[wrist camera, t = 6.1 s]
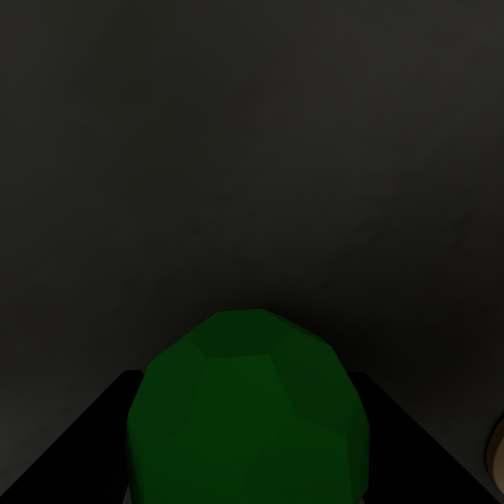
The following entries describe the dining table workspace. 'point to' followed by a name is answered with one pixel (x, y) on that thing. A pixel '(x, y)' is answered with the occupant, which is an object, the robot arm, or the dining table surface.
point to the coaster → (496, 456)
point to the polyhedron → (247, 419)
